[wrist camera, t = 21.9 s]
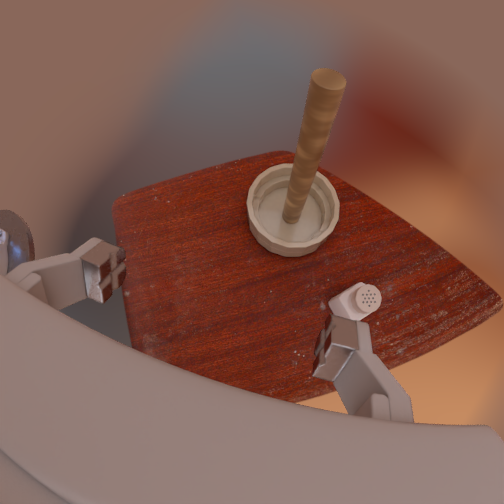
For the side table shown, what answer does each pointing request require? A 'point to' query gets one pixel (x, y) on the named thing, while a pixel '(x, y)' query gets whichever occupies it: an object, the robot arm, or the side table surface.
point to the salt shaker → (356, 302)
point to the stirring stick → (313, 137)
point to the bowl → (271, 208)
